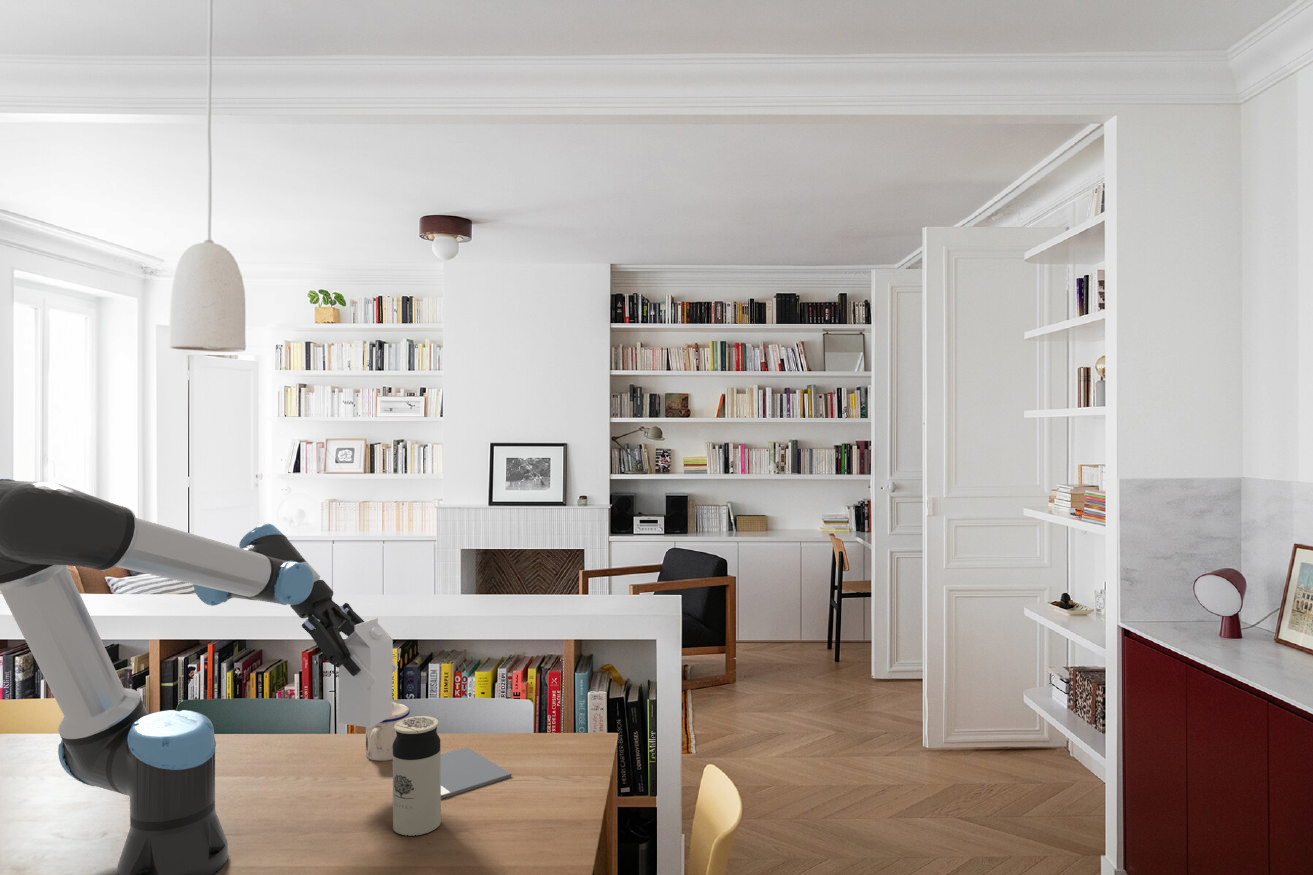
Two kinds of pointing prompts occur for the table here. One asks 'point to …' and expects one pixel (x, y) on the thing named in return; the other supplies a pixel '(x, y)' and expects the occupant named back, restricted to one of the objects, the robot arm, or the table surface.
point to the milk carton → (378, 659)
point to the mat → (467, 771)
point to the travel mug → (416, 776)
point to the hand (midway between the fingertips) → (382, 678)
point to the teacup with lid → (384, 734)
